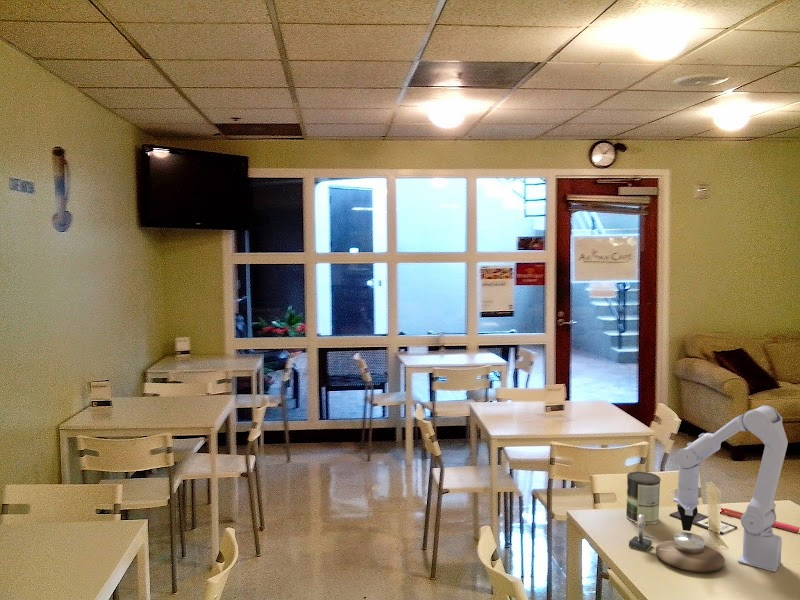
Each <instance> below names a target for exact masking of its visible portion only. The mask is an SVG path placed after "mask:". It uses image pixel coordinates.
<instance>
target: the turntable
mask: <svg viewBox="0 0 800 600" xmlns="http://www.w3.org/2000/svg"><path fill="white" fill-rule="evenodd" d="M722 554H723V553H721V552H719V551H718V550H716V549H714V548H712V547H710V546H707V545H705V544H704V552H703V553H701V554H687V553H683V552H680V551H678V550H677V549H675V548H674V539H673V540H667V541H666V540H665V541H662V542H660V543H657V545H656V547H655V555H656V556H657V557H658V558H659V559H660V560H661V562H664V563H666V564H668V565H670V566H672V567H674V568H678V569H682V570H686V571H691V572H696V573H697V572H699V573H701V572H702V573H708V572H710V573H711V572H715V571H719V570H721V569H722V568H723V567H724V566H725V559H726V558H724V556H723V555H722Z"/></svg>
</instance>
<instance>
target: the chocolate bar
mask: <svg viewBox="0 0 800 600" xmlns="http://www.w3.org/2000/svg"><path fill="white" fill-rule="evenodd" d="M669 516H670V517H672V518H675V519H677V520H680V521H681V516H680V513H679V511H678V510H677V511H674V512H672V513H669ZM708 517H709V515H707V514H706V515H705V514H702V513H700V512H698V513H697V515H696V516H695V518H694V520H693V523H692V526H696V527H698V528H702V529H705V530H707V531H709V530H708V528H709V527H708ZM720 521H721V523H720V534H719V535H720V536H721V535H724V534H726V533H729V532H731V531H735V530H736V529H738V526H736V525H735V524H734V525H733V524H731V523H728V522H726V521H722V520H720Z"/></svg>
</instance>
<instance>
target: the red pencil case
mask: <svg viewBox="0 0 800 600" xmlns="http://www.w3.org/2000/svg"><path fill="white" fill-rule="evenodd" d="M720 508H721V510H722V511H721V513H720V514H723V515H725V516H726V515H727V516H730V517H735V518H738V519H741V516H742V515H743V513H744V512H741V511H738V510H734V509H730V508H729V509H728V508H722V507H720ZM771 526H773V527H772V528H776V527H777V528H776V529H780V528H781V530H784V529H785V530H784V531H787V530H789V531H788V532H791V531H793V532H792V533H795V532H797V533H796V534H799V533H800V527H799V526H796V525H793V524H792V525H791V524H787V523H785V522H781V521H777V520H776V522H775V523H774V524H773V525H771ZM798 532H799V533H798Z"/></svg>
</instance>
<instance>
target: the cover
mask: <svg viewBox="0 0 800 600" xmlns="http://www.w3.org/2000/svg"><path fill="white" fill-rule="evenodd" d="M673 540H674V548H675V549H677V550H678V551H680V552H683V553H687V554H701V553H703V552H704V545H705V539H704V537H702V536H700V535H698V534H696V533H691V532H683V531H682V532H677V533H675V534H674V536H673Z"/></svg>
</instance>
